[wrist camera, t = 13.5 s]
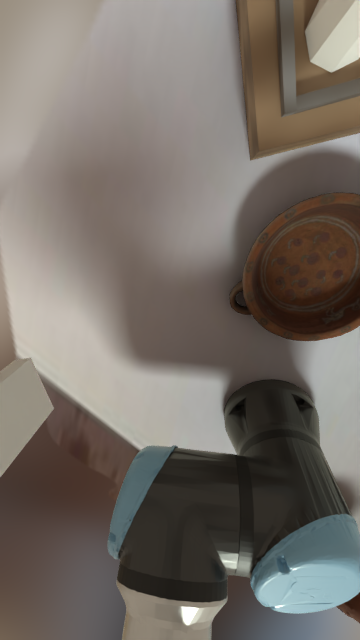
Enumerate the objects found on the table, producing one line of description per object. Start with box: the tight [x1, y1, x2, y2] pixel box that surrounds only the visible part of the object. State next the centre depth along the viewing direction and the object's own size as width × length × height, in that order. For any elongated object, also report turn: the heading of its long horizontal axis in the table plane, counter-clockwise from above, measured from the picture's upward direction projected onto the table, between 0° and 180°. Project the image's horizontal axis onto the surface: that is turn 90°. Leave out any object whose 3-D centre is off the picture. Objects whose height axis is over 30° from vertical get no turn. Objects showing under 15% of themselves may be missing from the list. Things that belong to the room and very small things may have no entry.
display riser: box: [236, 0, 360, 160], centre depth 24 cm, size 14×14×7 cm
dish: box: [229, 193, 360, 341], centre depth 33 cm, size 18×22×5 cm
